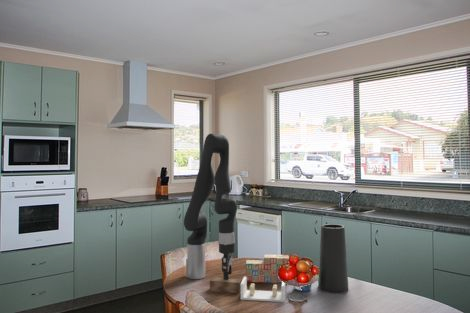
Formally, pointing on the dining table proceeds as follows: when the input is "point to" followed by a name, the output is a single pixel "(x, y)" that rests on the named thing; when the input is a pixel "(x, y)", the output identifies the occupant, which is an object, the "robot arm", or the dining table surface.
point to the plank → (225, 285)
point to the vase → (333, 259)
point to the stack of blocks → (265, 268)
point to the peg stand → (262, 293)
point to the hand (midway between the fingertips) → (227, 276)
